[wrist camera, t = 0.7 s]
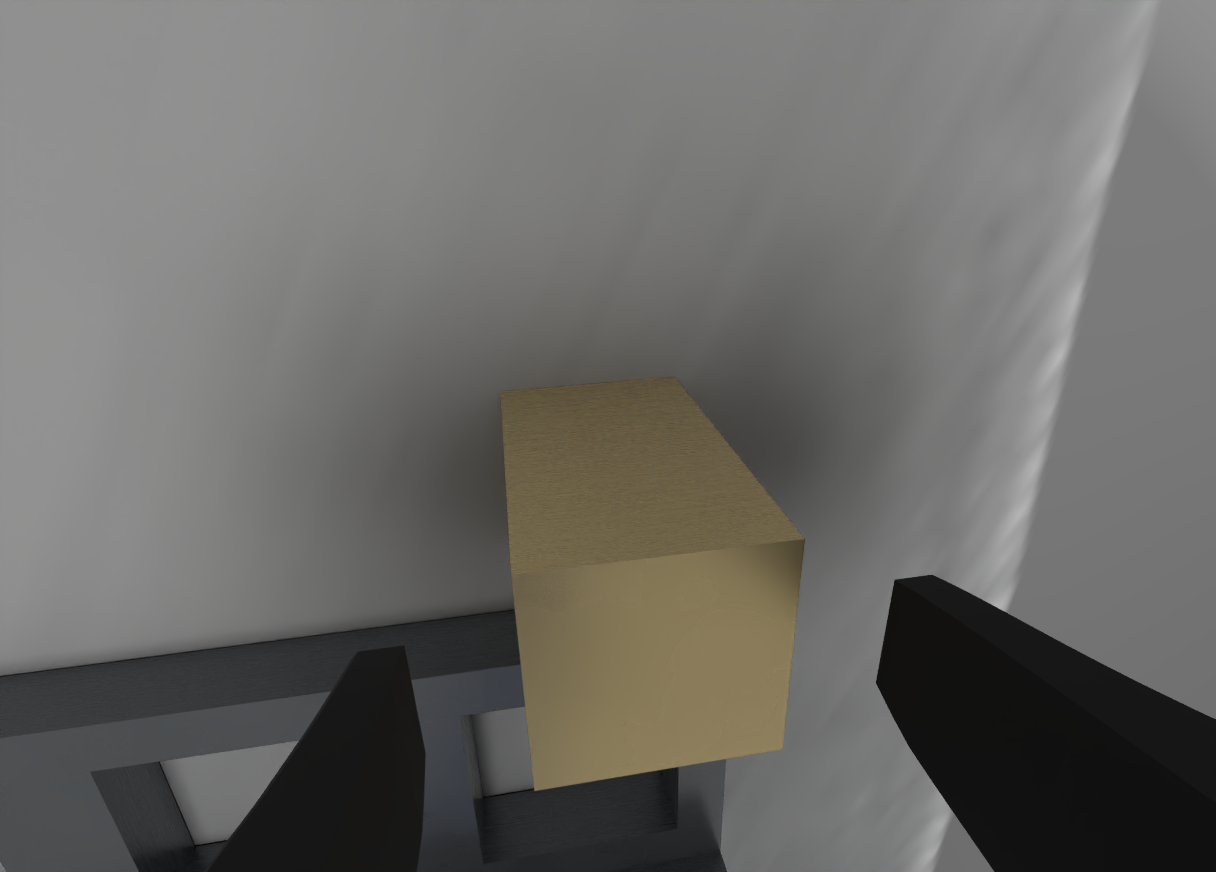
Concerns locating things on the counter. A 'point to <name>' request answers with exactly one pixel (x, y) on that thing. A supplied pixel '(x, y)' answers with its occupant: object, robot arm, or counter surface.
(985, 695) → the robot arm
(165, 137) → the counter surface
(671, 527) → the brass peg
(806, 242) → the counter surface
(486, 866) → the charcoal rail
